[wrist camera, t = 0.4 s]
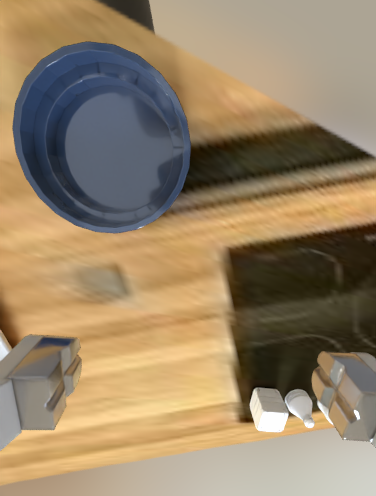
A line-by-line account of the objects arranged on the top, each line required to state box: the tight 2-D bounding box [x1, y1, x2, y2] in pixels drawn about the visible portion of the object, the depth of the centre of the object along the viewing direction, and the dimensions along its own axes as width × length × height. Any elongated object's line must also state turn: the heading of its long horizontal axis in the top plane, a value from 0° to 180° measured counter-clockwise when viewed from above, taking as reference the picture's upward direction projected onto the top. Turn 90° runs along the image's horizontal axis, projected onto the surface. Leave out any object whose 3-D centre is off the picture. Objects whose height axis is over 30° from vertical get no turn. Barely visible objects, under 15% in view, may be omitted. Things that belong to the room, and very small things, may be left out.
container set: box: [250, 388, 333, 432], centre depth 44 cm, size 20×5×6 cm, turn 82°
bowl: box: [13, 42, 191, 233], centre depth 29 cm, size 21×21×6 cm
